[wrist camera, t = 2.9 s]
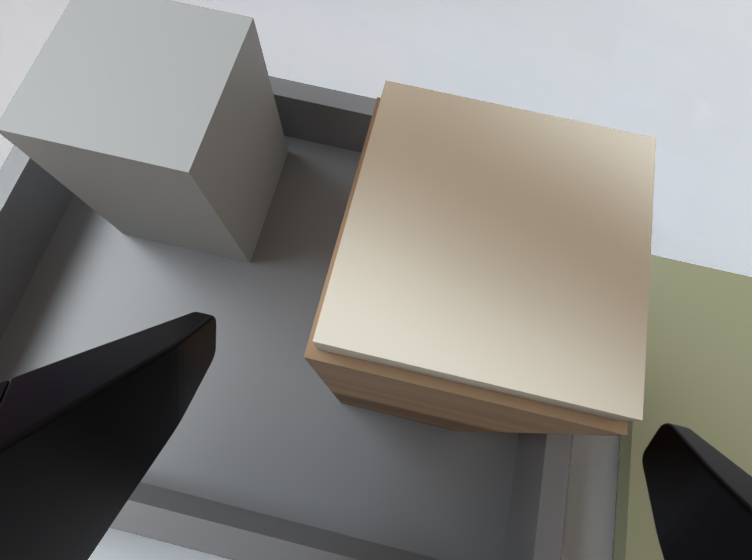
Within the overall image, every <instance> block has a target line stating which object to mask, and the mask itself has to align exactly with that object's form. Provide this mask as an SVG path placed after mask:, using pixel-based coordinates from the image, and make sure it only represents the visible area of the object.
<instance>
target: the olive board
mask: <svg viewBox="0 0 752 560" xmlns="http://www.w3.org/2000/svg"><path fill="white" fill-rule="evenodd" d="M665 423H671V424H675V425H680V426H684V427H687V428H689V429H691V430H692V431H694V432H695V433H696V434H697V435H699V436H700V437H701V438H703V439H704V440H705V441H706V442H708V443H709V444H710V445H712V446H713V447H714V448H715V449H717V450H718V451H719V452H721V453H722V454H723V455H725V456H726V457H727V458H728V459H730V460H731V461H732V462H734V463H735V464H736V465H737V466H739V467H740V468H741V469H743V470H744V471H745V472H746V473H748V474H749V475H750V476H752V277H748V276H743V275H739V274H734V273H730V272H725V271H721V270H716V269H712V268H708V267H703V266H699V265H694V264H690V263H685V262H681V261H676V260H672V259H667V258H663V257H658V256H654V255H651V256H650V277H649V298H648V319H647V340H646V361H645V382H644V403H643V421H628V430H627V435H620V450H619V466H618V482H617V499H616V515H615V531H614V547H613V560H664V558H663V554H662V551H661V547H660V544H659V540H658V536H657V532H656V528H655V523H654V518H653V513H652V508H651V504H650V499H649V494H648V489H647V484H646V479H645V475H644V470H643V465H642V457H643V453H644V451H645V449H646V447H647V446H648V444H649V443H650V441H651V440H652V438H653V437H654V435H655V433H656V432H657V430H658V429H659V427H660V426H661V425H663V424H665Z"/></svg>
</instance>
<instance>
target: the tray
mask: <svg viewBox="0 0 752 560" xmlns="http://www.w3.org/2000/svg"><path fill="white" fill-rule="evenodd" d="M269 80H270V83H271V87H272V91H273V95H274V99H275V102H276V106H277V110H278V114H279V117H280V121H281V125H282V129H283V133H284V136H285V140H286V144H287V148H288V154H287V157H286V160H285V163H284V166H283V169H282V172H281V175H280V178H279V180H278V183H277V186H276V189H275V192H274V195H273V198H272V201H271V204H270V207H269V210H268V212H267V215H266V218H265V221H264V224H263V227H262V230H261V233H260V236H259V239H258V242H257V244H256V247H255V250H254V253H253V256H252V259H251V262H250V263H246V262H242V261H238V260H233V259H229V258H225V257H220V256H216V255H212V254H208V253H203V252H199V251H195V250H190V249H186V248H182V247H178V246H173V245H169V244H165V243H161V242H156V241H152V240H148V239H143V238H139V237H135V236H131V235H126V234H123V233H121V232H120V231H119V230H118V229H117V228H115V227H114V226H113V225H112V224H110V223H109V222H108V221H107V220H106V219H104V218H103V217H102V216H101V215H99V214H98V213H97V212H96V211H95V210H93V209H92V208H91V207H90V206H88V205H87V204H86V203H85V202H84V201H82V200H81V199H80V198H79V197H77V196H76V195H75V194H74V193H73V192H71V191H70V190H69V189H68V188H66V187H65V186H64V185H63V184H62V183H60V182H59V181H58V180H57V179H55V178H54V177H53V176H52V175H51V174H49V173H48V172H47V171H46V170H44V169H43V168H42V167H41V166H40V165H38V164H37V163H36V162H35V161H33V160H32V159H31V158H30V157H29V156H27V155H26V154H25V153H24V152H22V151H21V150H20V149H19V148H18V147H16V146H15V145H14V146H13V148H12V150H11V152H10V153H9V155H8V157H7V159H6V161H5V162H4V164H3V166H2V168H1V169H0V382H1V381H4V380H8V381H10V379H11V378H13V377H15V376H18V375H21V374H23V373H26V372H29V371H32V370H34V369H37V368H40V367H43V366H46V365H48V364H51V363H54V362H57V361H59V360H62V359H65V358H68V357H70V356H73V355H76V354H79V353H82V352H84V351H87V350H90V349H93V348H95V347H98V346H101V345H104V344H106V343H109V342H112V341H115V340H117V339H120V338H123V337H126V336H128V335H131V334H134V333H137V332H140V331H142V330H145V329H148V328H151V327H153V326H156V325H159V324H162V323H164V322H167V321H170V320H173V319H175V318H178V317H181V316H184V315H186V314H189V313H192V312H201V313H205V314H209V315H213V316H214V317H215V318H216V351H215V356H214V358H213V361H212V363H211V365H210V367H209V369H208V370H207V372H206V374H205V376H204V378H203V380H202V382H201V384H200V386H199V388H198V390H197V391H196V393H195V395H194V397H193V399H192V401H191V403H190V405H189V407H188V409H187V411H186V413H185V414H184V416H183V418H182V420H181V422H180V423H179V425H178V426H177V428H176V430H175V431H174V433H173V434H172V436H171V437H170V439H169V440H168V442H167V443H166V445H165V446H164V448H163V449H162V451H161V452H160V453H159V455H158V456H157V458H156V459H155V461H154V462H153V464H152V465H151V467H150V468H149V470H148V471H147V473H146V474H145V476H144V477H143V479H142V480H141V482H140V483H139V485H138V486H137V487H136V489H135V490H134V492H133V493H132V495H131V496H130V498H129V499H128V501H127V502H126V504H125V505H124V507H123V508H122V510H121V511H120V513H119V514H118V516H117V517H116V519H115V520H114V521H113V523H112V524H111V526H110V528H114V529H118V530H122V531H125V532H129V533H133V534H137V535H141V536H144V537H148V538H152V539H156V540H160V541H163V542H167V543H171V544H175V545H179V546H182V547H186V548H190V549H194V550H198V551H201V552H205V553H209V554H213V555H217V556H220V557H224V558H228V559H232V560H561V555H562V544H563V534H564V523H565V512H566V501H567V491H568V480H569V469H570V458H571V448H572V437H573V434H549V433H507V432H465V431H454V430H450V429H446V428H442V427H438V426H434V425H430V424H426V423H422V422H418V421H414V420H410V419H405V418H401V417H397V416H393V415H389V414H385V413H381V412H377V411H373V410H369V409H365V408H361V407H357V406H352V405H348V404H344V403H340V402H339V400H338V399H337V398H336V397H335V395H334V394H333V393H332V392H331V390H330V389H329V388H328V387H327V385H326V384H325V383H324V382H323V381H322V379H321V378H320V377H319V376H318V374H317V373H316V372H315V371H314V369H313V368H312V367H311V366H310V364H309V363H308V362H307V361H306V360H305V358H304V354H305V350H306V347H307V343H308V340H309V336H310V333H311V329H312V326H313V322H314V319H315V315H316V312H317V308H318V305H319V301H320V298H321V294H322V291H323V287H324V284H325V280H326V277H327V273H328V269H329V266H330V262H331V259H332V255H333V252H334V248H335V245H336V241H337V238H338V234H339V231H340V227H341V224H342V220H343V217H344V213H345V210H346V206H347V203H348V199H349V196H350V192H351V189H352V185H353V182H354V178H355V175H356V171H357V167H358V164H359V160H360V157H361V153H362V150H363V146H364V143H365V139H366V136H367V132H368V129H369V125H370V122H371V118H372V115H373V111H374V108H375V104H376V101H377V99H373V98H369V97H364V96H359V95H355V94H350V93H345V92H341V91H336V90H331V89H327V88H322V87H317V86H313V85H308V84H303V83H299V82H294V81H289V80H285V79H280V78H276V77H271V76H269Z"/></svg>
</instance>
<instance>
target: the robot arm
mask: <svg viewBox="0 0 752 560" xmlns="http://www.w3.org/2000/svg"><path fill="white" fill-rule="evenodd" d="M215 351H216V318H215V317H214V316H213V315H209V314H205V313H201V312H192V313H189V314H186V315H184V316H181V317H178V318H175V319H173V320H170V321H167V322H164V323H162V324H159V325H156V326H153V327H151V328H148V329H145V330H142V331H140V332H137V333H134V334H131V335H128V336H126V337H123V338H120V339H117V340H115V341H112V342H109V343H106V344H104V345H101V346H98V347H95V348H93V349H90V350H87V351H84V352H82V353H79V354H76V355H73V356H70V357H68V358H65V359H62V360H59V361H57V362H54V363H51V364H48V365H46V366H43V367H40V368H37V369H34V370H32V371H29V372H26V373H23V374H21V375H18V376H15V377H13V378H11V379H10V381H8V380H4V381H1V382H0V560H88V558H89V557H90V555H91V554H92V553H93V551H94V550H95V548H96V547H97V545H98V544H99V542H100V541H101V539H102V538H103V536H104V535H105V533H106V532H107V530H108V529H109V527H110V526H111V524H112V523H113V521H114V520H115V519H116V517H117V516H118V514H119V513H120V511H121V510H122V508H123V507H124V505H125V504H126V502H127V501H128V499H129V498H130V496H131V495H132V493H133V492H134V490H135V489H136V487H137V486H138V485H139V483H140V482H141V480H142V479H143V477H144V476H145V474H146V473H147V471H148V470H149V468H150V467H151V465H152V464H153V462H154V461H155V459H156V458H157V456H158V455H159V453H160V452H161V451H162V449H163V448H164V446H165V445H166V443H167V442H168V440H169V439H170V437H171V436H172V434H173V433H174V431H175V430H176V428H177V426H178V425H179V423H180V422H181V420H182V418H183V416H184V414H185V413H186V411H187V409H188V407H189V405H190V403H191V401H192V399H193V397H194V395H195V393H196V391H197V390H198V388H199V386H200V384H201V382H202V380H203V378H204V376H205V374H206V372H207V370H208V369H209V367H210V365H211V363H212V361H213V358H214V356H215ZM642 465H643V470H644V475H645V479H646V484H647V489H648V494H649V499H650V504H651V508H652V513H653V518H654V523H655V528H656V532H657V536H658V540H659V544H660V547H661V551H662V554H663V558H664V560H752V476H750V475H749V474H748V473H746V472H745V471H744V470H743V469H741V468H740V467H739V466H737V465H736V464H735V463H734V462H732V461H731V460H730V459H728V458H727V457H726V456H725V455H723V454H722V453H721V452H719V451H718V450H717V449H715V448H714V447H713V446H712V445H710V444H709V443H708V442H706V441H705V440H704V439H703V438H701V437H700V436H699V435H697V434H696V433H695V432H694V431H692V430H691V429H689V428H687V427H684V426H680V425H675V424H671V423H665V424H663V425H661V426H660V427H659V429H658V430H657V432H656V433H655V435H654V437H653V438H652V440H651V441H650V443H649V444H648V446H647V447H646V449H645V451H644V453H643V457H642Z"/></svg>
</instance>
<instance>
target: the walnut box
mask: <svg viewBox="0 0 752 560" xmlns="http://www.w3.org/2000/svg"><path fill="white" fill-rule="evenodd" d="M655 150H656V138H654V137H649V136H644V135H640V134H635V133H630V132H625V131H621V130H616V129H611V128H607V127H602V126H597V125H593V124H588V123H583V122H578V121H574V120H569V119H564V118H560V117H555V116H550V115H545V114H541V113H536V112H531V111H527V110H522V109H517V108H513V107H508V106H503V105H498V104H494V103H489V102H484V101H480V100H475V99H470V98H466V97H461V96H456V95H451V94H447V93H442V92H437V91H433V90H428V89H423V88H419V87H414V86H409V85H404V84H400V83H395V82H390V81H386V82H385V85H384V89H383V92H382V96H381V98H378V97H377V101H376V104H375V108H374V111H373V115H372V118H371V122H370V125H369V129H368V132H367V136H366V139H365V143H364V146H363V150H362V153H361V157H360V160H359V164H358V167H357V171H356V175H355V178H354V182H353V185H352V189H351V192H350V196H349V199H348V203H347V206H346V210H345V213H344V217H343V220H342V224H341V227H340V231H339V234H338V238H337V241H336V245H335V248H334V252H333V255H332V259H331V262H330V266H329V269H328V273H327V277H326V280H325V284H324V287H323V291H322V294H321V298H320V301H319V305H318V308H317V312H316V315H315V319H314V322H313V326H312V329H311V333H310V336H309V340H308V343H307V347H306V350H305V354H304V358H305V360H306V361H307V362H308V363H309V364H310V366H311V367H312V368H313V369H314V371H315V372H316V373H317V374H318V376H319V377H320V378H321V379H322V381H323V382H324V383H325V384H326V385H327V387H328V388H329V389H330V390H331V392H332V393H333V394H334V395H335V397H336V398H337V399H338V400H339V402H340V403H344V404H348V405H352V406H357V407H361V408H365V409H369V410H373V411H377V412H381V413H385V414H389V415H393V416H397V417H401V418H405V419H410V420H414V421H418V422H422V423H426V424H430V425H434V426H438V427H442V428H446V429H450V430H454V431H465V432H507V433H549V434H591V435H627V430H628V421H643V403H644V382H645V361H646V340H647V319H648V298H649V277H650V256H651V235H652V213H653V192H654V171H655Z"/></svg>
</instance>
